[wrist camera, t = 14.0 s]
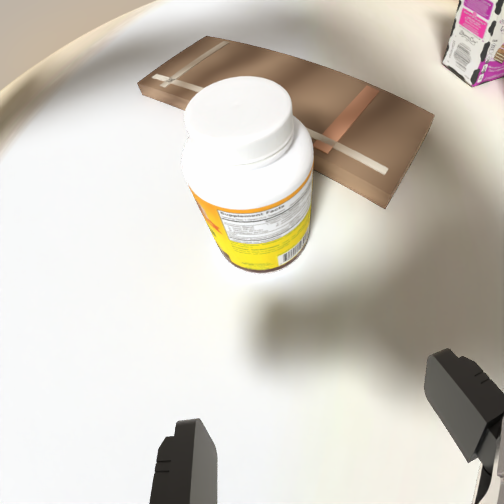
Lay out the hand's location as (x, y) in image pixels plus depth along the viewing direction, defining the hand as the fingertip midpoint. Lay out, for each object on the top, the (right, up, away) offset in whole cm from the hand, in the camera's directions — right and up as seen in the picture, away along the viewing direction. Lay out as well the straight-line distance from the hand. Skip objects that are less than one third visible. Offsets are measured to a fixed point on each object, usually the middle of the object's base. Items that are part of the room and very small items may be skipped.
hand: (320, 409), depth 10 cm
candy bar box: (+25, +27, +17) cm, 40 cm away
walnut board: (0, +18, +16) cm, 24 cm away
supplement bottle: (-2, +6, +10) cm, 12 cm away
